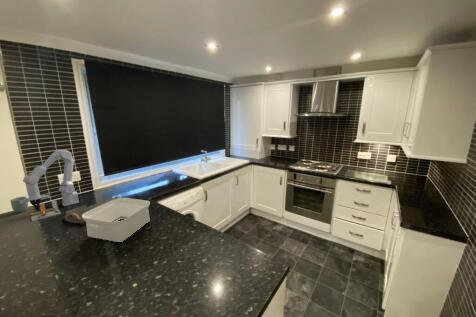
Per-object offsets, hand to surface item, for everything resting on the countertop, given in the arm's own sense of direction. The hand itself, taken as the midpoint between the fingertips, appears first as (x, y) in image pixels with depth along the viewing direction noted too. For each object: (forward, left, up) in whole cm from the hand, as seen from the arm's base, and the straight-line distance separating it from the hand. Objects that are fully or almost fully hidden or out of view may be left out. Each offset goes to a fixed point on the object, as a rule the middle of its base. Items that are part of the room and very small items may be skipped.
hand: (37, 209), depth 138 cm
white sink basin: (-32, +68, -4) cm, 75 cm away
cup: (+8, -15, -4) cm, 17 cm away
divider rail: (-3, +3, -3) cm, 6 cm away
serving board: (-30, +29, -4) cm, 42 cm away
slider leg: (-3, +3, -3) cm, 5 cm away
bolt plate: (-4, +8, -3) cm, 9 cm away
